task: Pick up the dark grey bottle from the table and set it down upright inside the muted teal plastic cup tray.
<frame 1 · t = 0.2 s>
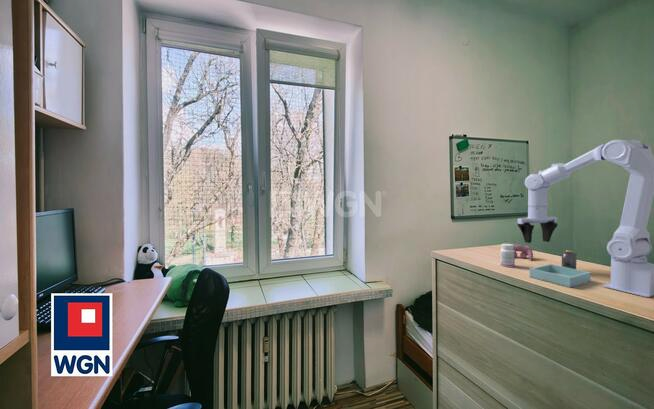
hand: (537, 241, 106), 10 cm above the table, tool pointing down, fingers open, 7 cm apart
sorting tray: (558, 279, 93), on the table
dark grey bottle: (568, 271, 100), on the table
video game controller: (518, 258, 120), on the table
pill bottle: (507, 266, 110), on the table
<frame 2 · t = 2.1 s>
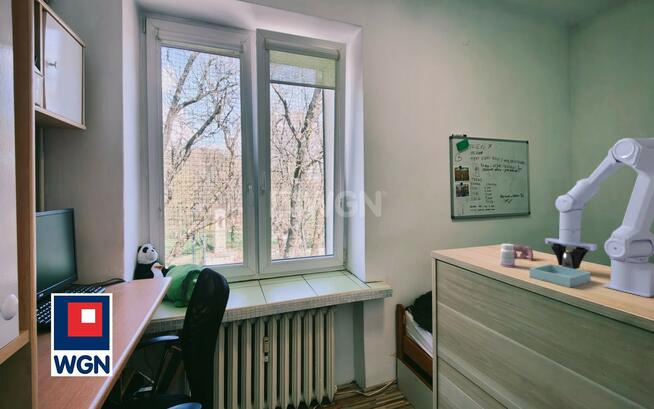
hand: (568, 266, 100), 2 cm above the table, tool pointing down, fingers closed on dark grey bottle, 4 cm apart
dark grey bottle: (568, 271, 100), on the table, touching gripper
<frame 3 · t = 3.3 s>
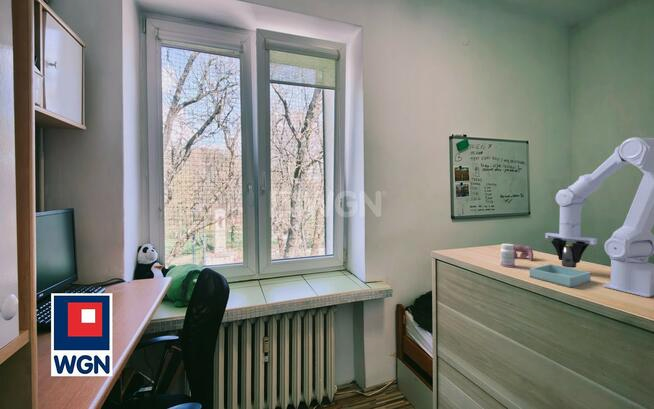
hand: (569, 261, 100), 4 cm above the table, tool pointing down, fingers closed on dark grey bottle, 4 cm apart
dark grey bottle: (568, 266, 100), point 2 cm above the table, touching gripper
everything else where it was.
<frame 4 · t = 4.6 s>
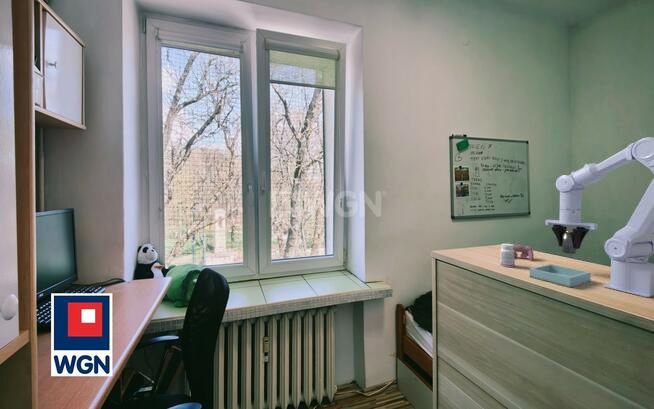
hand: (569, 247, 100), 9 cm above the table, tool pointing down, fingers closed on dark grey bottle, 4 cm apart
dark grey bottle: (569, 252, 100), point 7 cm above the table, touching gripper
everything else where it was.
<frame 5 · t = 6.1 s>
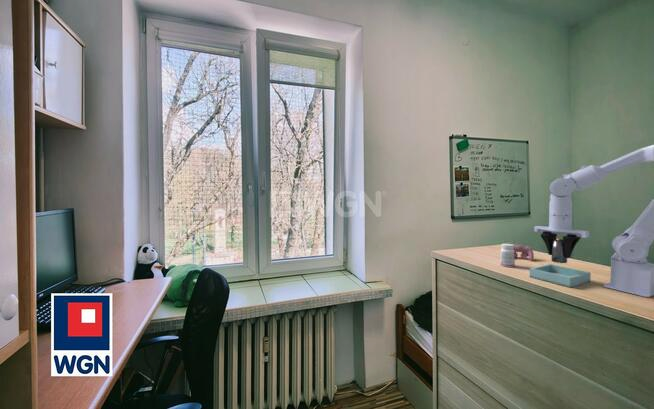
hand: (559, 256, 92), 8 cm above the table, tool pointing down, fingers closed on dark grey bottle, 4 cm apart
dark grey bottle: (559, 261, 92), point 6 cm above the table, touching gripper
when the fingers open (4 cm above the table, at t = 7.3 s): dark grey bottle drops 2 cm, resting on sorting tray.
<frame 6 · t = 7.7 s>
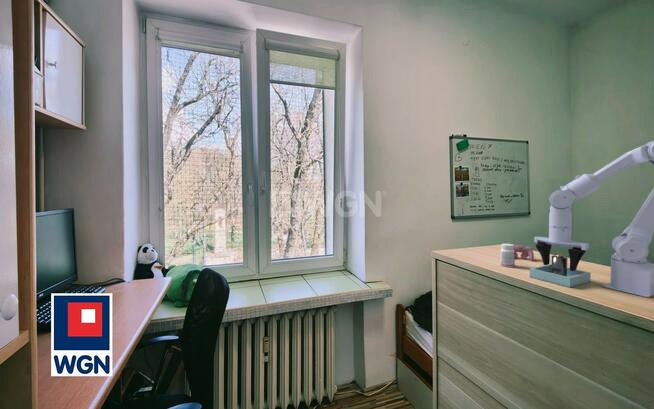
hand: (559, 267, 93), 4 cm above the table, tool pointing down, fingers open, 7 cm apart
dark grey bottle: (559, 277, 93), point 1 cm above the table, touching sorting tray
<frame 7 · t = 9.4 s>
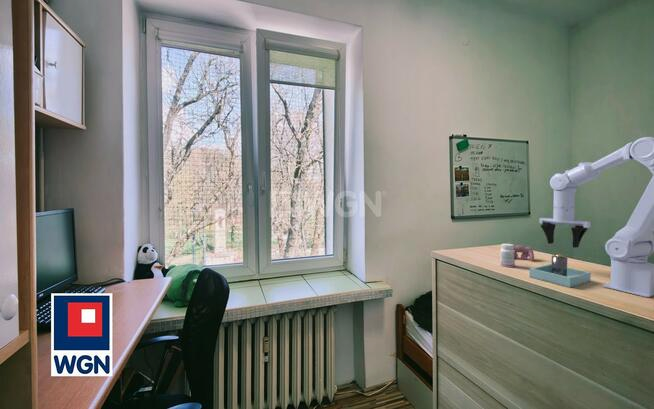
hand: (562, 245, 101), 9 cm above the table, tool pointing down, fingers open, 7 cm apart
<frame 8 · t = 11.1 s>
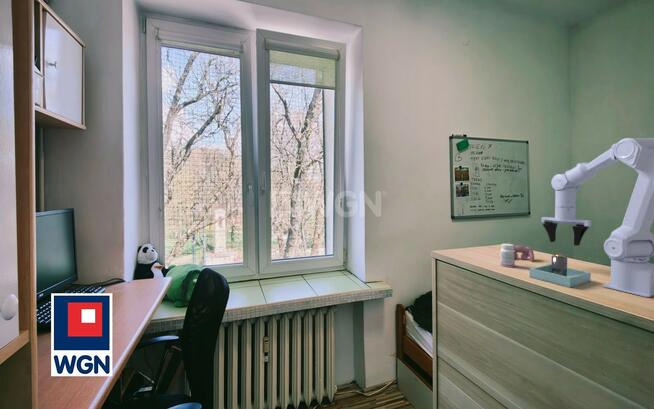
hand: (564, 243, 104), 9 cm above the table, tool pointing down, fingers open, 7 cm apart
at the end: dark grey bottle inside the target area on the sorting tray (0.0 cm from its centre), point 0.6 cm above the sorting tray's base; dark grey bottle tilted 0°; the gripper is holding nothing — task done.
